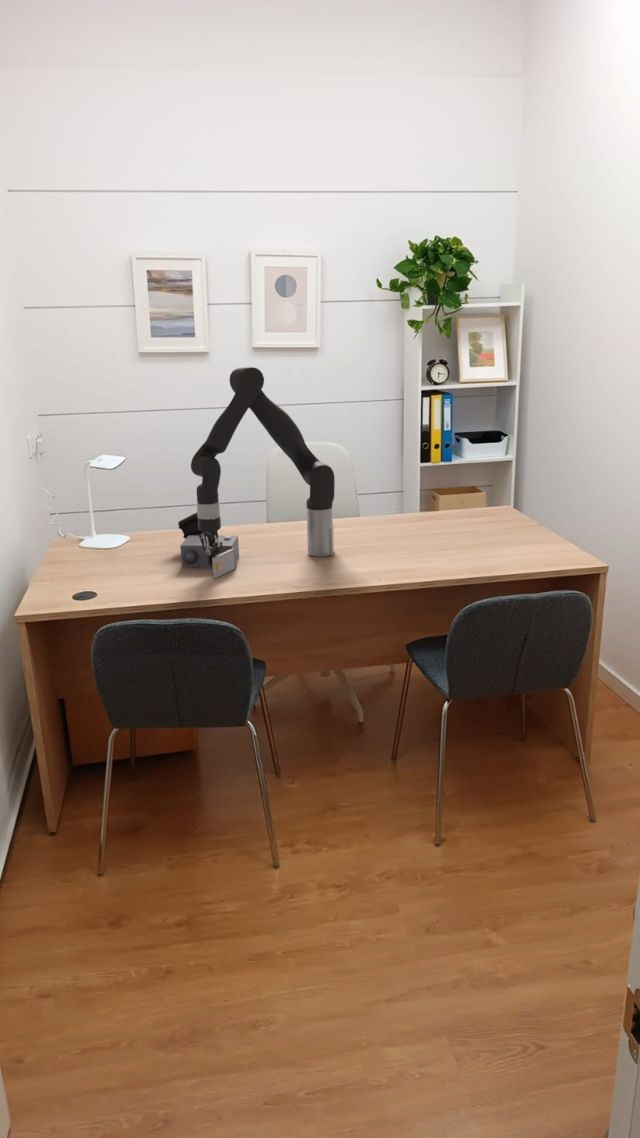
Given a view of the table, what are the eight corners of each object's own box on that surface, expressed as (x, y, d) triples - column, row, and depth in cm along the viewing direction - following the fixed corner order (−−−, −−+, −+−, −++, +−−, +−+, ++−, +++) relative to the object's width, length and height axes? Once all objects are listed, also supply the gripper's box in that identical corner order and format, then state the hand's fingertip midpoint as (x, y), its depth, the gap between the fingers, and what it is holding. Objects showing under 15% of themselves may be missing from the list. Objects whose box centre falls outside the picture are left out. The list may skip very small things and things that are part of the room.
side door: (234, 567, 296) (233, 547, 294) (238, 567, 295) (237, 548, 293) (213, 577, 286) (211, 557, 284) (217, 578, 285) (215, 558, 283)
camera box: (239, 556, 308) (237, 533, 305) (232, 569, 295) (230, 544, 292) (190, 556, 309) (188, 533, 306) (180, 568, 297) (179, 544, 294)
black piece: (224, 545, 316) (204, 510, 311) (193, 561, 317) (172, 526, 312) (224, 542, 319) (204, 507, 315) (193, 558, 321) (173, 524, 316)
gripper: (189, 512, 286) (193, 561, 292) (207, 521, 276) (211, 572, 282) (209, 509, 290) (213, 557, 296) (228, 517, 280) (231, 567, 286)
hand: (212, 564), depth 289 cm, fingers closed
